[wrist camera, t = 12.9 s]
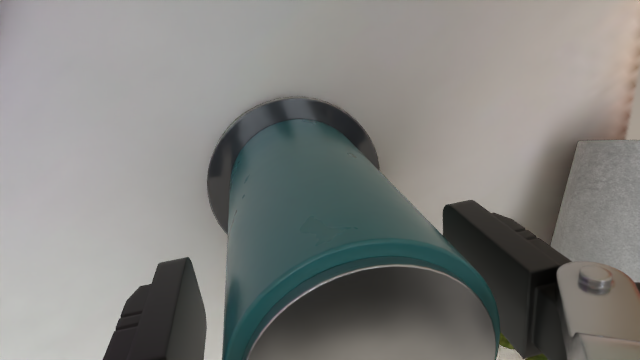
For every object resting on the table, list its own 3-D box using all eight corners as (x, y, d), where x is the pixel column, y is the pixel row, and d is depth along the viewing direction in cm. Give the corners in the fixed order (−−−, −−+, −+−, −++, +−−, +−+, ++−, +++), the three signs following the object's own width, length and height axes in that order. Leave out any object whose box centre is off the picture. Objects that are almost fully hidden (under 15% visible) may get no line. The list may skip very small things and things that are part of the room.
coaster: (170, 193, 16) (168, 196, 16) (289, 57, 15) (290, 57, 15) (300, 284, 19) (301, 289, 18) (409, 171, 18) (413, 175, 18)
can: (201, 193, 16) (152, 419, 7) (294, 88, 15) (380, 184, 6) (302, 266, 18) (370, 517, 9) (389, 176, 17) (562, 348, 8)
